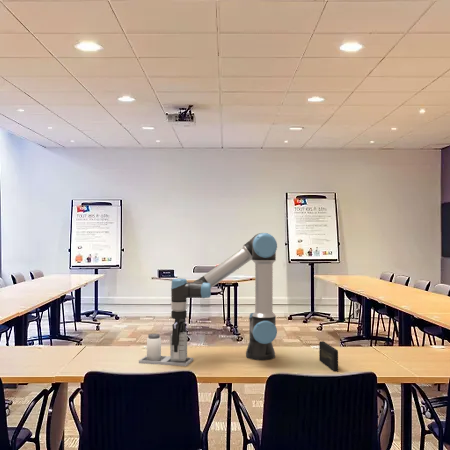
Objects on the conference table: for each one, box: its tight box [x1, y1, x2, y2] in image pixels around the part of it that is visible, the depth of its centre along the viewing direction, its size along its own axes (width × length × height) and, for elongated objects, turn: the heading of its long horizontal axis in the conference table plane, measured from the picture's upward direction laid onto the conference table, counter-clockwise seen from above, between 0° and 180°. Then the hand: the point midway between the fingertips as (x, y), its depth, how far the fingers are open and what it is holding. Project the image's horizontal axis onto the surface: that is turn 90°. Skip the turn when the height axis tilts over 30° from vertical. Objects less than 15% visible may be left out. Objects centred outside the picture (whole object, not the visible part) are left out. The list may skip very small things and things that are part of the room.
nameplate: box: [318, 340, 339, 372], centre depth 249 cm, size 21×2×10 cm, turn 9°
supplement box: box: [169, 331, 188, 361], centre depth 251 cm, size 7×7×13 cm
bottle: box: [146, 333, 162, 361], centre depth 254 cm, size 7×7×13 cm
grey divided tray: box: [138, 355, 194, 367], centre depth 252 cm, size 24×11×2 cm, turn 77°
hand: (179, 356), depth 251 cm, fingers closed on supplement box, 8 cm apart
